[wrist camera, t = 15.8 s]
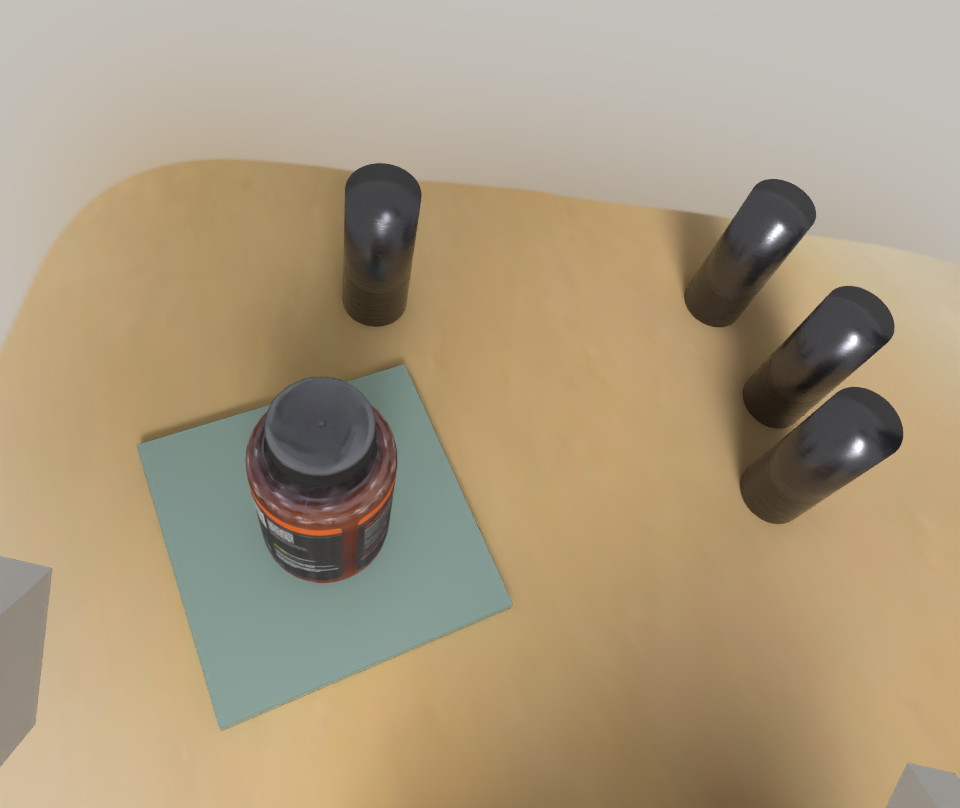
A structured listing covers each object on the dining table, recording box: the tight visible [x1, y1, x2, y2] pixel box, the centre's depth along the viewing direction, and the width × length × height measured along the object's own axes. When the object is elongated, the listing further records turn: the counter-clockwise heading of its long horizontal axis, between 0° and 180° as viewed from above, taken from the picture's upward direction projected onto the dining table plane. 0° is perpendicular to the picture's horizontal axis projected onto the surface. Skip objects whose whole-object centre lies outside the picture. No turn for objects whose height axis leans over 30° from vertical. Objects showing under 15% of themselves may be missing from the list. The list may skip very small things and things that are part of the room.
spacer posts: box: [343, 163, 903, 524], centre depth 42 cm, size 23×22×9 cm
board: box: [137, 364, 513, 730], centre depth 39 cm, size 14×14×1 cm
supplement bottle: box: [245, 377, 398, 583], centre depth 34 cm, size 6×6×11 cm
